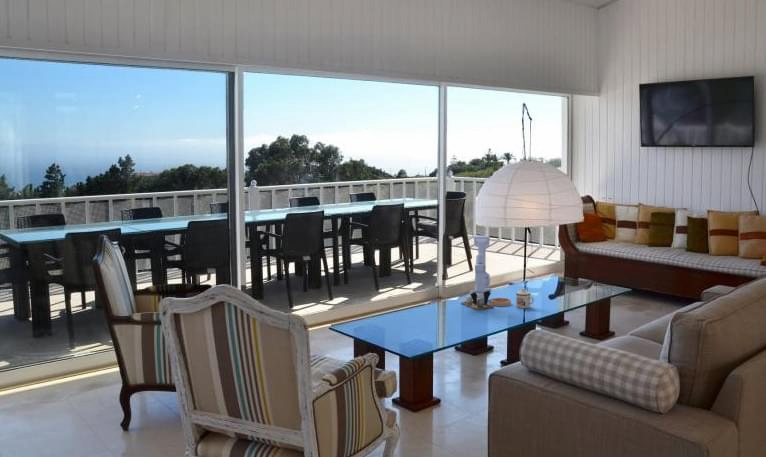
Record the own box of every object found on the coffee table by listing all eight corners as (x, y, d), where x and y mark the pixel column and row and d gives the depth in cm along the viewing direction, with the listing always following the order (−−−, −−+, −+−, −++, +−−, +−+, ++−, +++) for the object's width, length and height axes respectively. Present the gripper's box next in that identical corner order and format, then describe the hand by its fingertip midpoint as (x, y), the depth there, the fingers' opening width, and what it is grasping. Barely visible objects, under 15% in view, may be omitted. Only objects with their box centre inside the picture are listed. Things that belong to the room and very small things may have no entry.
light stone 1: (464, 304, 457) (464, 296, 456) (470, 303, 458) (470, 295, 457) (468, 305, 453) (467, 297, 452) (473, 305, 454) (473, 296, 454)
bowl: (486, 303, 460) (486, 299, 459) (503, 301, 465) (503, 297, 464) (497, 307, 448) (497, 302, 448) (514, 305, 453) (514, 300, 453)
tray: (461, 304, 459) (460, 302, 458) (477, 302, 464) (477, 300, 463) (476, 311, 441) (476, 308, 440) (493, 308, 446) (493, 306, 445)
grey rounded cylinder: (476, 306, 449) (476, 298, 449) (481, 306, 451) (481, 297, 450) (479, 308, 446) (479, 299, 445) (484, 307, 447) (484, 298, 447)
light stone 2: (473, 303, 459) (473, 295, 458) (478, 302, 460) (478, 294, 460) (476, 304, 455) (476, 296, 455) (481, 304, 457) (481, 295, 456)
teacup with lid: (513, 307, 449) (513, 289, 448) (521, 304, 456) (521, 286, 454) (529, 309, 441) (529, 291, 440) (537, 307, 447) (537, 289, 446)
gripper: (473, 284, 440) (473, 306, 442) (493, 282, 446) (493, 303, 447) (467, 282, 447) (467, 304, 448) (487, 280, 452) (487, 301, 454)
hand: (480, 303), depth 448 cm, fingers open, 7 cm apart
